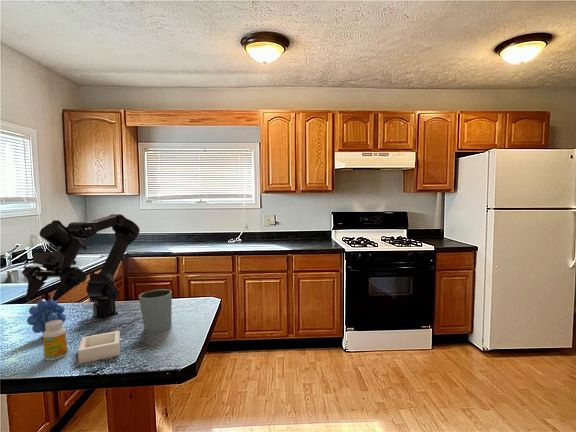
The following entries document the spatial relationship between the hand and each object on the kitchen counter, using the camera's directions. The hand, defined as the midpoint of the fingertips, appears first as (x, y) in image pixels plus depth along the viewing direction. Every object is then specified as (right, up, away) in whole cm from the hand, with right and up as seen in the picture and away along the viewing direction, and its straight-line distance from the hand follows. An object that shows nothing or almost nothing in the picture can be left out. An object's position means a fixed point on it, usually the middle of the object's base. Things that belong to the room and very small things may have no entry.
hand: (40, 300), depth 102 cm
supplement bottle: (+9, -14, -6) cm, 18 cm away
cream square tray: (+20, -14, -4) cm, 25 cm away
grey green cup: (+30, -13, +12) cm, 35 cm away
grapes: (-3, -14, +9) cm, 17 cm away
